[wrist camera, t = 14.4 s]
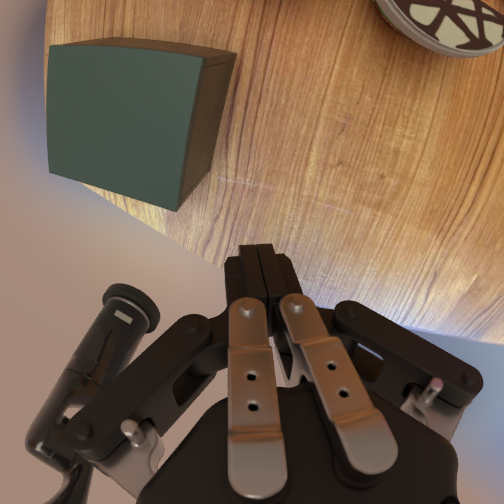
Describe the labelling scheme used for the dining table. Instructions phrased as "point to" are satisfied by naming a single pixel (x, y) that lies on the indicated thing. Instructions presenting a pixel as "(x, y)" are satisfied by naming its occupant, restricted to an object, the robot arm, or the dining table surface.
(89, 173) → the lid
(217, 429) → the robot arm
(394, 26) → the food container
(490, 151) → the dining table surface
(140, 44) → the caddy
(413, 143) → the dining table surface
